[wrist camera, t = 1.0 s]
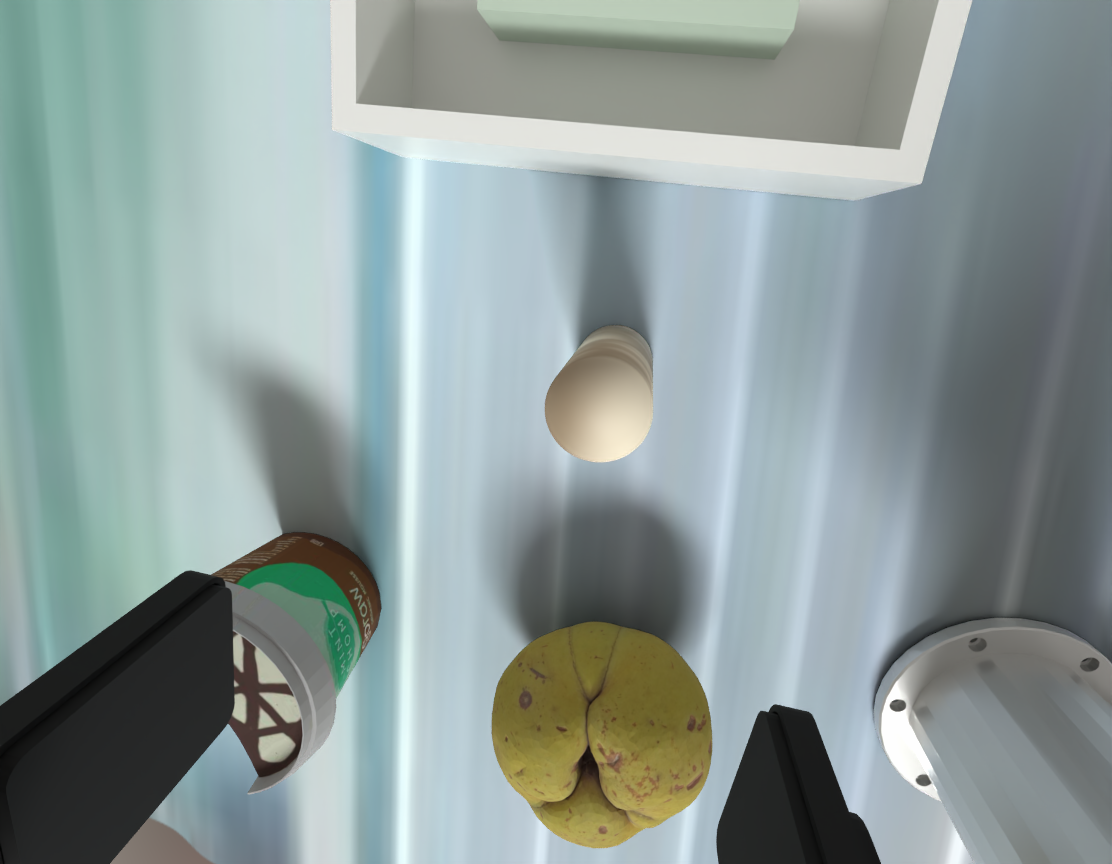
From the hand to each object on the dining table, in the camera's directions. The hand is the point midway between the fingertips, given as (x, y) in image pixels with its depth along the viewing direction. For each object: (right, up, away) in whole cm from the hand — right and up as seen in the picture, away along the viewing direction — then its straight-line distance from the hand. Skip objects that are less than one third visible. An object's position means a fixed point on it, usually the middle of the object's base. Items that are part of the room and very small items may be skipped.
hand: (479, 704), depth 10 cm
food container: (-12, -5, +28) cm, 31 cm away
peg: (+4, +8, +21) cm, 23 cm away
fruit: (+4, -10, +27) cm, 29 cm away
